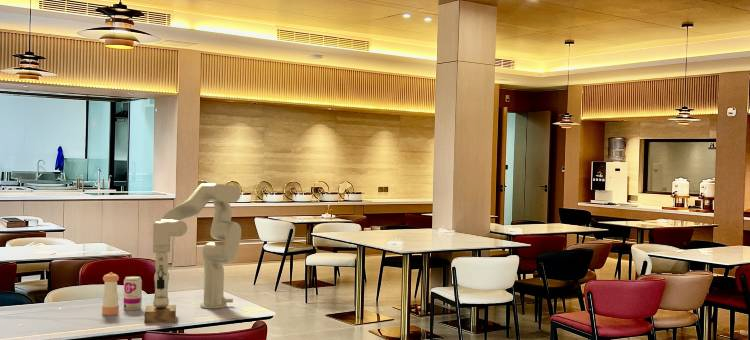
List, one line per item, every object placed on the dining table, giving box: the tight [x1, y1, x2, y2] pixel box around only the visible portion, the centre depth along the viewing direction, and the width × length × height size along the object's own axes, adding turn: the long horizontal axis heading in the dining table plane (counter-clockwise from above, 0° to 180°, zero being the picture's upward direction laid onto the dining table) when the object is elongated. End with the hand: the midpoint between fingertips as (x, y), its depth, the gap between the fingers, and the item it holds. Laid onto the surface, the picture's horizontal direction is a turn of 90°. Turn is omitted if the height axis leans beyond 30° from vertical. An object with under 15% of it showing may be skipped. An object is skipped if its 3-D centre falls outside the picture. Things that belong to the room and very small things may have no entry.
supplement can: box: [123, 275, 143, 311], centre depth 359 cm, size 8×8×15 cm
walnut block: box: [144, 304, 177, 324], centre depth 337 cm, size 13×13×5 cm
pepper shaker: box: [101, 271, 120, 316], centre depth 347 cm, size 7×7×19 cm
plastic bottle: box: [152, 265, 170, 309], centre depth 337 cm, size 6×7×20 cm
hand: (161, 286), depth 337 cm, fingers open, 9 cm apart
